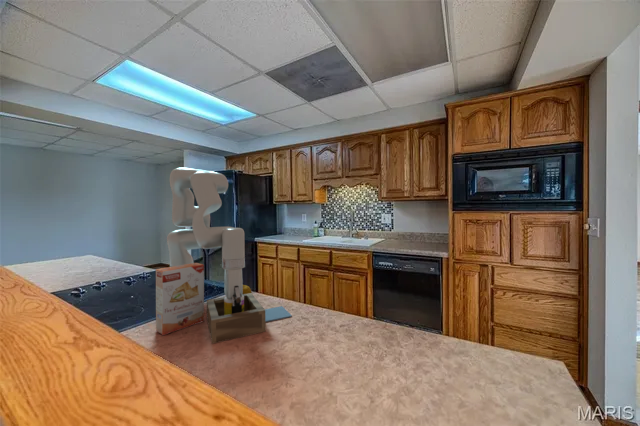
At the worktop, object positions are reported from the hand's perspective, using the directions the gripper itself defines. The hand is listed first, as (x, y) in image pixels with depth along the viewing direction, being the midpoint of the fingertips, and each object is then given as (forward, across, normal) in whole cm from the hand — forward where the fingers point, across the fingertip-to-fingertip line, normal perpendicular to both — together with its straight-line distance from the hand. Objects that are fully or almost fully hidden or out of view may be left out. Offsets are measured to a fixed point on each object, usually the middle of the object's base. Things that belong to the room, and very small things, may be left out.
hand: (234, 312), depth 90 cm
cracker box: (+4, -8, -16) cm, 19 cm away
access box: (+4, 0, 0) cm, 4 cm away
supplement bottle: (+5, 0, 0) cm, 5 cm away
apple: (+4, -17, +6) cm, 19 cm away
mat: (+4, -2, +14) cm, 15 cm away
